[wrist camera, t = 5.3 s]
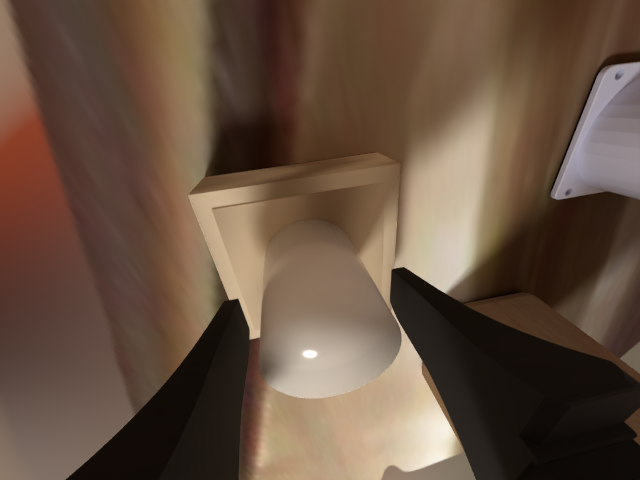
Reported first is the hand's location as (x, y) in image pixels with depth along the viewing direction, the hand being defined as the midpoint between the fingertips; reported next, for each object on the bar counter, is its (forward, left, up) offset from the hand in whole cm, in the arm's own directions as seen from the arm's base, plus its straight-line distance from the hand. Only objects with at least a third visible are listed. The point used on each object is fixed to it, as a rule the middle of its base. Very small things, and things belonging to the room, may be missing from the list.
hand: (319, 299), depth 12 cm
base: (0, 0, -6) cm, 6 cm away
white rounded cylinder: (0, 0, -3) cm, 3 cm away
